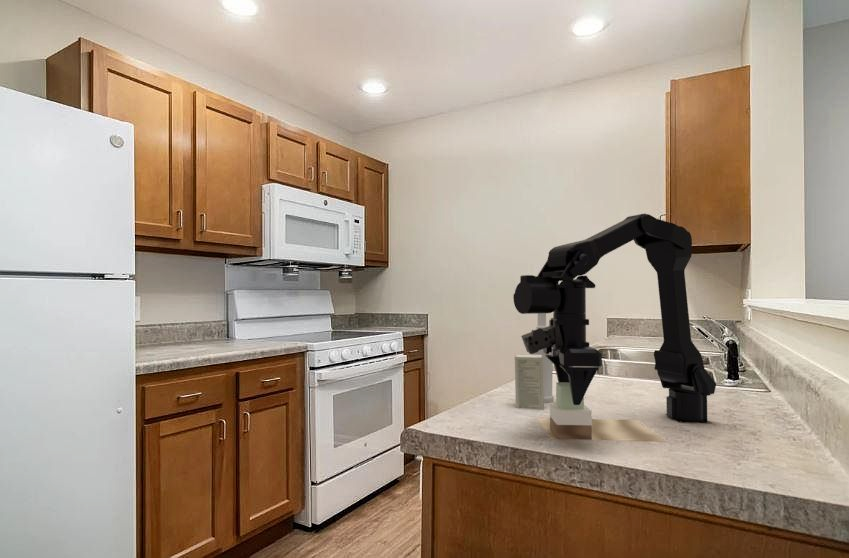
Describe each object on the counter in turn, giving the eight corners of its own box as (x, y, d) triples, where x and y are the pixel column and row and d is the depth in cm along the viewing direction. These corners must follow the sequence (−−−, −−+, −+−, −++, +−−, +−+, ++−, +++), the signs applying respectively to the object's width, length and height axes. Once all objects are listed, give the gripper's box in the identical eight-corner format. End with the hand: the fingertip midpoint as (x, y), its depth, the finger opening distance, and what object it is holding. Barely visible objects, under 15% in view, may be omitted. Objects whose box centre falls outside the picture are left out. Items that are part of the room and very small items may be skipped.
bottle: (531, 405, 111) (531, 298, 112) (530, 400, 117) (530, 298, 117) (554, 406, 111) (553, 298, 111) (552, 401, 116) (551, 298, 116)
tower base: (582, 429, 89) (582, 416, 90) (591, 439, 83) (591, 425, 84) (550, 429, 90) (549, 415, 90) (556, 439, 84) (556, 424, 84)
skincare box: (543, 407, 109) (543, 354, 110) (543, 412, 105) (543, 357, 105) (515, 406, 111) (515, 353, 111) (514, 410, 106) (514, 356, 107)
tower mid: (582, 416, 90) (582, 403, 90) (591, 425, 84) (591, 411, 84) (549, 415, 90) (549, 402, 90) (556, 424, 84) (556, 410, 84)
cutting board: (636, 422, 97) (636, 419, 97) (668, 444, 83) (668, 441, 83) (537, 421, 98) (537, 418, 98) (551, 442, 84) (551, 438, 84)
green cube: (578, 404, 89) (577, 382, 89) (583, 409, 85) (583, 386, 85) (556, 403, 89) (556, 382, 89) (561, 409, 85) (560, 386, 85)
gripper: (518, 310, 97) (518, 388, 97) (533, 315, 78) (534, 410, 78) (573, 311, 96) (574, 388, 96) (602, 315, 78) (603, 412, 77)
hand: (569, 398), depth 87 cm, fingers open, 9 cm apart
